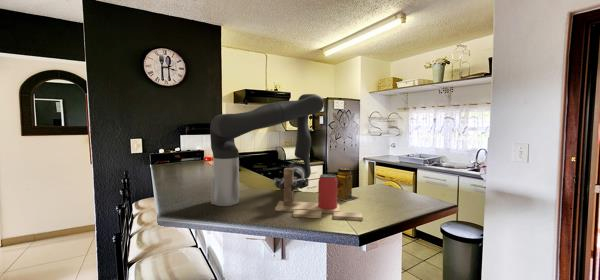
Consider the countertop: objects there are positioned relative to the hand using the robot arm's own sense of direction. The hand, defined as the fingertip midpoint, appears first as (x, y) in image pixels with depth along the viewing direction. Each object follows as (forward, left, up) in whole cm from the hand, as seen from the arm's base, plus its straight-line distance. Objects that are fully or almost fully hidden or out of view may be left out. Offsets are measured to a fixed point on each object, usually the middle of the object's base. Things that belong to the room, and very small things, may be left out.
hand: (286, 187), depth 90 cm
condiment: (+21, +19, -8) cm, 30 cm away
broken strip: (+14, -4, -8) cm, 17 cm away
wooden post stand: (+7, +3, -8) cm, 11 cm away
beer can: (+14, +3, -8) cm, 16 cm away
